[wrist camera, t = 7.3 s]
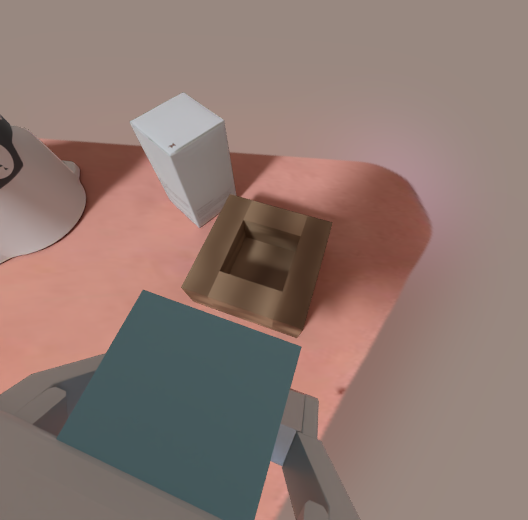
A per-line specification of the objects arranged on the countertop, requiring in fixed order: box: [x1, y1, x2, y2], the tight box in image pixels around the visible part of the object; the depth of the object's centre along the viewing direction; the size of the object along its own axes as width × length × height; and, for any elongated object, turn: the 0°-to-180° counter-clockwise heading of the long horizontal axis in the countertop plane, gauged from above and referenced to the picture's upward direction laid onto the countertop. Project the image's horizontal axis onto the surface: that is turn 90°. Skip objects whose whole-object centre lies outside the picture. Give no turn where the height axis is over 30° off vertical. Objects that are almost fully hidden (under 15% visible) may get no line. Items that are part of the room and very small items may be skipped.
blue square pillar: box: [56, 290, 301, 520], centre depth 11 cm, size 4×4×11 cm
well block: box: [181, 194, 332, 338], centre depth 30 cm, size 13×13×5 cm
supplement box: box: [130, 92, 237, 228], centre depth 32 cm, size 7×7×13 cm
